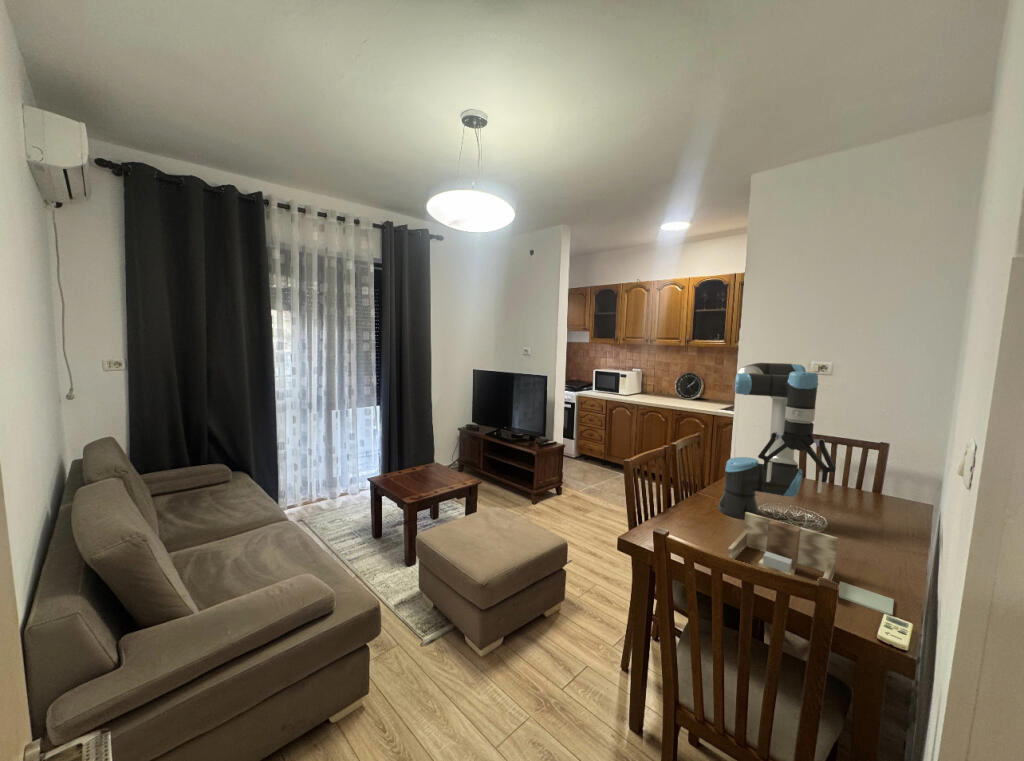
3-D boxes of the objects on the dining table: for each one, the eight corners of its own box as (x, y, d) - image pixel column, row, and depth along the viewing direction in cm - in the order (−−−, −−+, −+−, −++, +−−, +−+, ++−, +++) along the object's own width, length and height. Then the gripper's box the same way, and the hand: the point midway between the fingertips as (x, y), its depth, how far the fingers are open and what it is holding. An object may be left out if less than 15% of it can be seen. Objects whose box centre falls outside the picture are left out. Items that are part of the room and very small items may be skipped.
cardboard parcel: (764, 563, 135) (768, 523, 133) (768, 559, 138) (771, 519, 136) (793, 574, 129) (798, 531, 128) (796, 569, 132) (800, 527, 131)
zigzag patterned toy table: (726, 563, 135) (728, 529, 133) (743, 543, 148) (746, 511, 147) (824, 600, 116) (828, 560, 115) (834, 573, 130) (838, 537, 128)
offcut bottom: (757, 570, 131) (758, 562, 131) (761, 567, 134) (762, 558, 133) (790, 583, 125) (791, 574, 124) (793, 579, 127) (794, 570, 127)
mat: (835, 596, 118) (836, 594, 118) (840, 583, 125) (840, 581, 125) (892, 616, 110) (892, 614, 110) (893, 601, 116) (893, 599, 116)
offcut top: (762, 564, 130) (763, 555, 129) (765, 560, 132) (766, 551, 132) (789, 573, 125) (789, 563, 125) (791, 568, 128) (792, 559, 127)
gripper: (751, 416, 134) (746, 479, 137) (849, 429, 118) (841, 500, 120) (756, 413, 140) (751, 474, 142) (851, 425, 123) (843, 493, 125)
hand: (793, 486), depth 131 cm, fingers open, 13 cm apart
